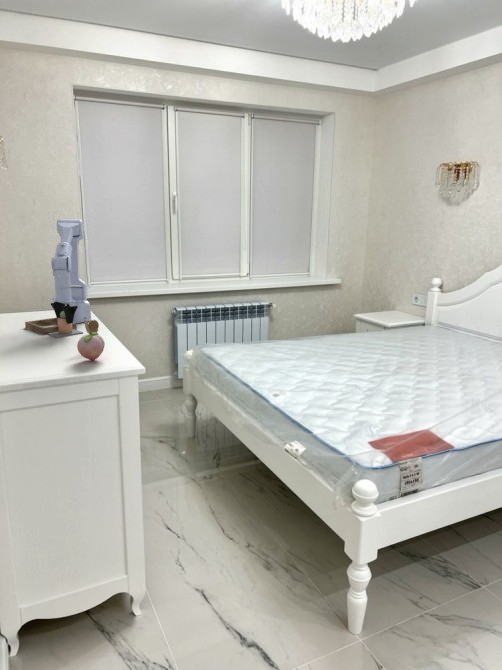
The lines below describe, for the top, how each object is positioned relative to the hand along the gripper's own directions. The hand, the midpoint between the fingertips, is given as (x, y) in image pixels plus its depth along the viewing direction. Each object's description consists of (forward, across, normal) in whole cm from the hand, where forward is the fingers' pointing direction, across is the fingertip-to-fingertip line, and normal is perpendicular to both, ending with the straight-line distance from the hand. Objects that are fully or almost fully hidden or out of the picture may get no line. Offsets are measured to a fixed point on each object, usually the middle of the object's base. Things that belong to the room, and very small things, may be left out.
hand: (65, 321), depth 196 cm
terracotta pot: (+4, 0, 0) cm, 4 cm away
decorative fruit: (+5, +40, -12) cm, 42 cm away
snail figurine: (+5, +27, -4) cm, 27 cm away
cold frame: (+5, -12, 0) cm, 13 cm away
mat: (+5, 0, 0) cm, 5 cm away
